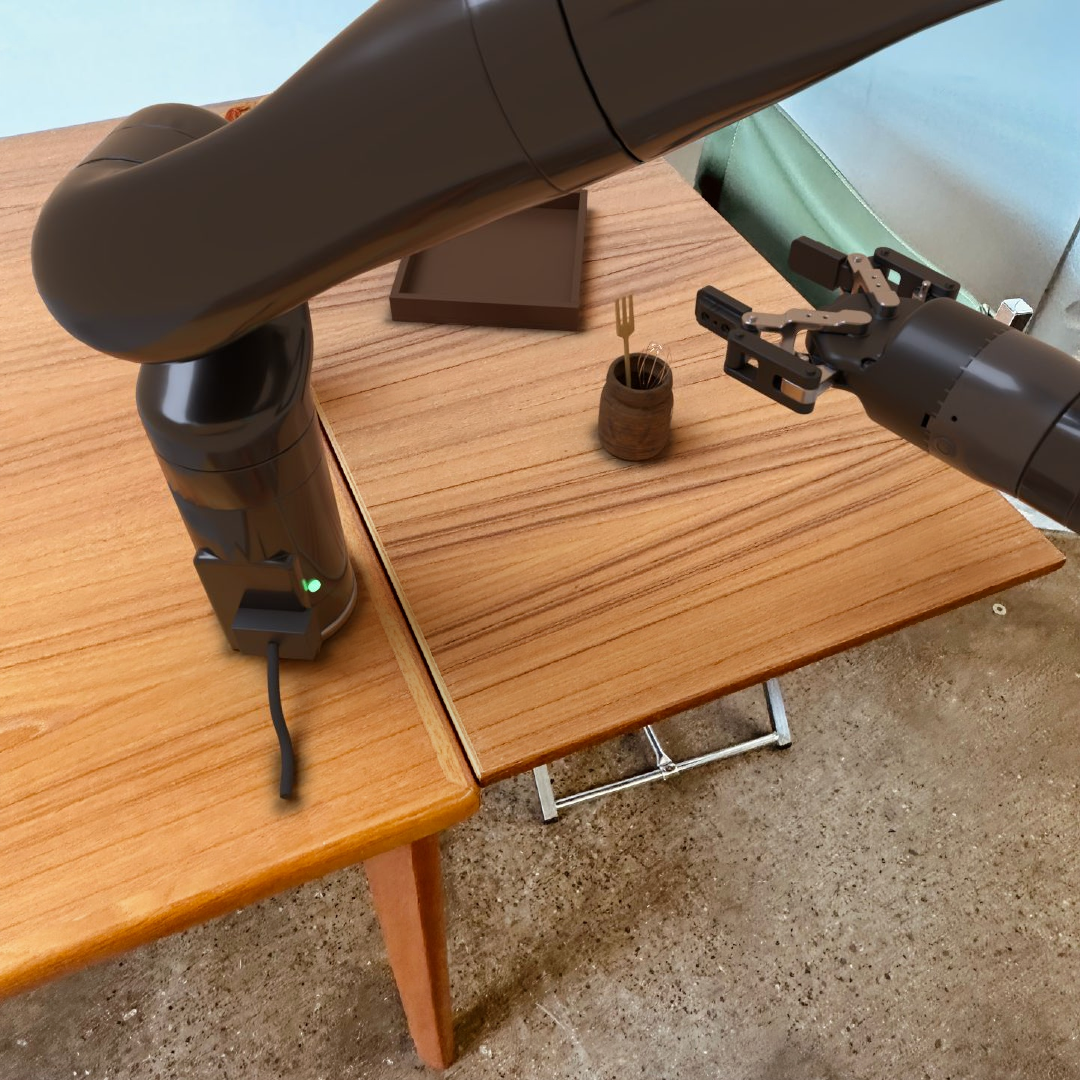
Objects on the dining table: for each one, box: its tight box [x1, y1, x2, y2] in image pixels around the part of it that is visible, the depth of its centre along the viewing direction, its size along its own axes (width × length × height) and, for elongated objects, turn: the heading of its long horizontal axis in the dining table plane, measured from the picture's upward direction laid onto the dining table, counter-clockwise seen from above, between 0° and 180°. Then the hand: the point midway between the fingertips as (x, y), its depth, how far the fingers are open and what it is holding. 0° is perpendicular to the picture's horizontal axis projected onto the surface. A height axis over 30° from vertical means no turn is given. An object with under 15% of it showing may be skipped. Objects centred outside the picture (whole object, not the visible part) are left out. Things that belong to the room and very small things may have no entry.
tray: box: [388, 188, 589, 332], centre depth 92 cm, size 22×18×3 cm
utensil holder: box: [597, 293, 675, 461], centre depth 72 cm, size 6×6×12 cm
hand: (747, 275), depth 57 cm, fingers open, 8 cm apart
